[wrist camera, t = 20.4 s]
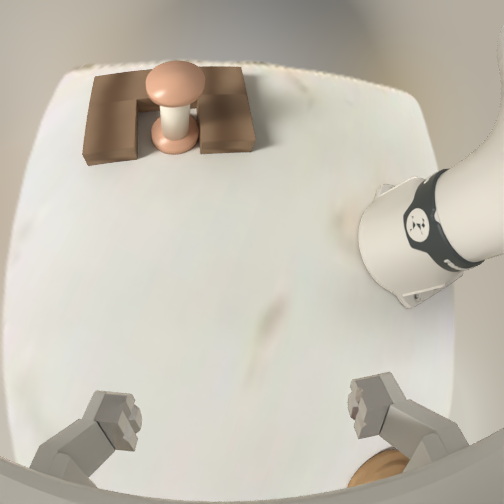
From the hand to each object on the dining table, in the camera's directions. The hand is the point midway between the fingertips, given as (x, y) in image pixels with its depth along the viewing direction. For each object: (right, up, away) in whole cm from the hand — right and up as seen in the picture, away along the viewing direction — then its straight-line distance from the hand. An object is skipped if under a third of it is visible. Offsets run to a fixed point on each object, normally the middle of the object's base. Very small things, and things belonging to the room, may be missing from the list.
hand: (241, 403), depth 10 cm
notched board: (-11, +25, +29) cm, 40 cm away
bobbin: (-10, +21, +29) cm, 37 cm away
